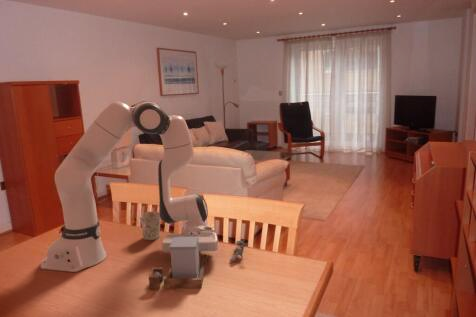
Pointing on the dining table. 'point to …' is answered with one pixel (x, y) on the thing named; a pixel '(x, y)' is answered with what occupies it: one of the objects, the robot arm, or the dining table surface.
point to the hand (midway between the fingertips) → (187, 253)
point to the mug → (150, 225)
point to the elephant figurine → (238, 250)
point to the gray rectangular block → (185, 257)
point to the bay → (176, 279)
